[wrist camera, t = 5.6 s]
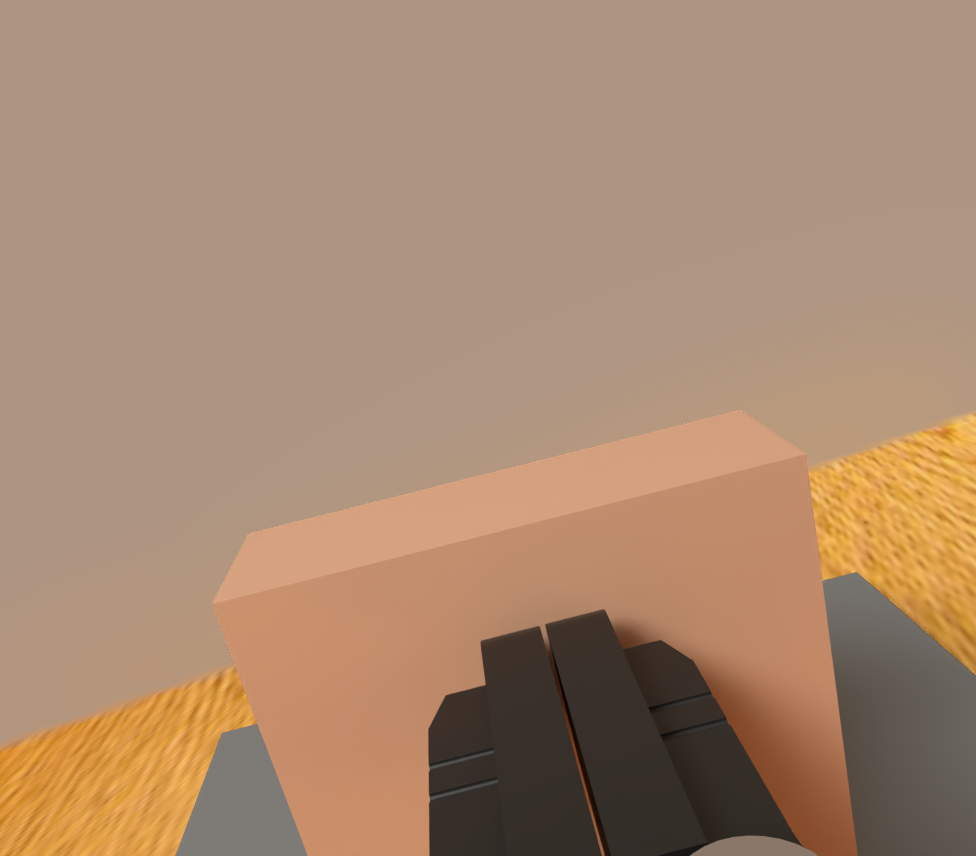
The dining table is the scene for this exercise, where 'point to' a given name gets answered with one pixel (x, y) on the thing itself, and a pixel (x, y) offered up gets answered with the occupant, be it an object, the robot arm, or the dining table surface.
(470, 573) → the tile
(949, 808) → the mat
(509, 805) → the robot arm
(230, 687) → the dining table surface
